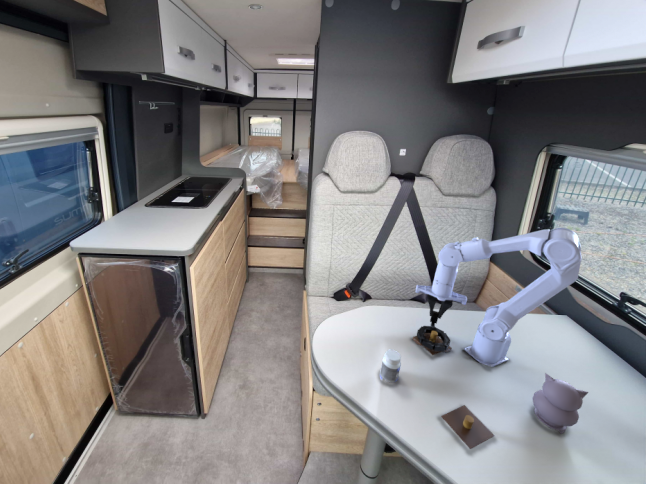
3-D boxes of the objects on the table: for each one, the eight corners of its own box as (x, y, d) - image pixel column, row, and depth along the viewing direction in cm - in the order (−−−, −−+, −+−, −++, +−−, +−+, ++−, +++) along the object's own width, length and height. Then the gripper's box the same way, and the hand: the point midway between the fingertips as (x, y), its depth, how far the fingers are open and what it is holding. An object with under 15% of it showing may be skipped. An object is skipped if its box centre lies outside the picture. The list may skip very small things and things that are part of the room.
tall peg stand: (430, 333, 101) (434, 321, 100) (451, 351, 95) (454, 338, 93) (412, 339, 98) (415, 327, 97) (431, 358, 92) (435, 345, 90)
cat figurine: (525, 420, 75) (542, 385, 70) (528, 398, 80) (543, 364, 76) (571, 445, 70) (592, 408, 65) (570, 420, 75) (590, 384, 71)
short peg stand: (463, 408, 77) (466, 398, 76) (493, 438, 70) (497, 428, 69) (439, 419, 74) (442, 409, 73) (468, 452, 67) (473, 442, 66)
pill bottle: (398, 387, 82) (403, 363, 79) (380, 383, 83) (384, 360, 80) (396, 372, 86) (401, 349, 83) (378, 369, 87) (383, 346, 84)
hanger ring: (450, 355, 90) (455, 340, 88) (416, 345, 93) (420, 331, 91) (447, 329, 101) (451, 315, 99) (417, 320, 104) (420, 307, 102)
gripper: (419, 280, 94) (411, 316, 99) (472, 293, 89) (460, 330, 94) (419, 269, 100) (411, 304, 105) (469, 280, 95) (458, 316, 101)
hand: (434, 315), depth 100 cm, fingers closed on hanger ring
